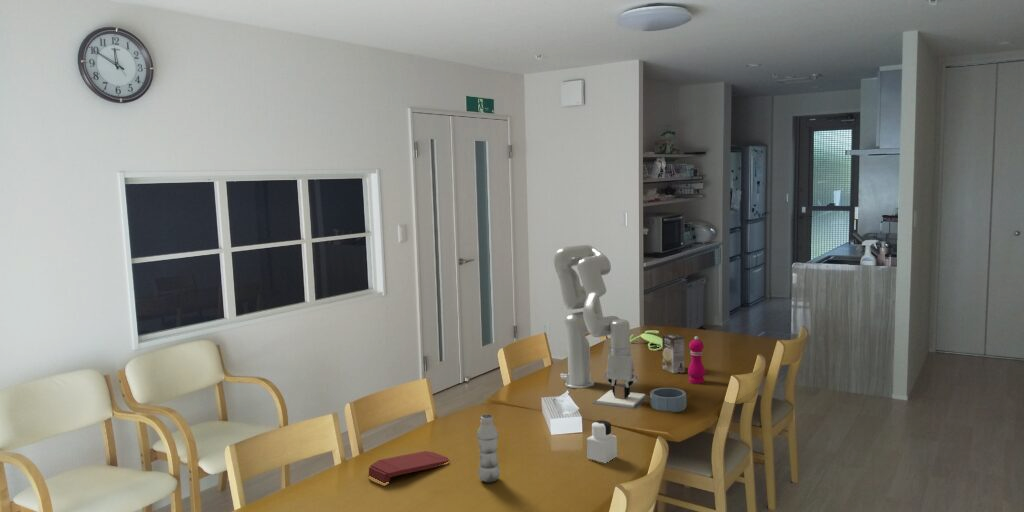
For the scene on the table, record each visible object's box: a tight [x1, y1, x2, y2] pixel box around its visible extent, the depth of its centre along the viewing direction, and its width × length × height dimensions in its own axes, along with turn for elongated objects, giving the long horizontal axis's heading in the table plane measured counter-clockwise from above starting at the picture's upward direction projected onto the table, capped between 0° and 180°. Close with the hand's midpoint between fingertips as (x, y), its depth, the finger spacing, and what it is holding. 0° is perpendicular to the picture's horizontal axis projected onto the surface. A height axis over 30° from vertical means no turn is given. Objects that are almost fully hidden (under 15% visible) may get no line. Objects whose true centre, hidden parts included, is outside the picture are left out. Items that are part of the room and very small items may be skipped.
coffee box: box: [661, 333, 685, 374], centre depth 327 cm, size 9×6×16 cm
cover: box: [596, 382, 646, 408], centre depth 287 cm, size 15×15×6 cm
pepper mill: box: [687, 335, 706, 385], centre depth 308 cm, size 7×7×20 cm
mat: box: [591, 390, 650, 410], centre depth 287 cm, size 18×18×1 cm
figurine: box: [630, 329, 663, 352], centre depth 378 cm, size 18×27×6 cm
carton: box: [368, 450, 450, 483], centre depth 228 cm, size 12×5×25 cm
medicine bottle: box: [586, 419, 618, 464], centre depth 230 cm, size 7×7×12 cm
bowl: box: [649, 387, 687, 413], centre depth 278 cm, size 13×13×6 cm
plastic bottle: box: [476, 413, 501, 483], centre depth 216 cm, size 6×7×20 cm
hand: (621, 395), depth 287 cm, fingers closed on cover, 4 cm apart
